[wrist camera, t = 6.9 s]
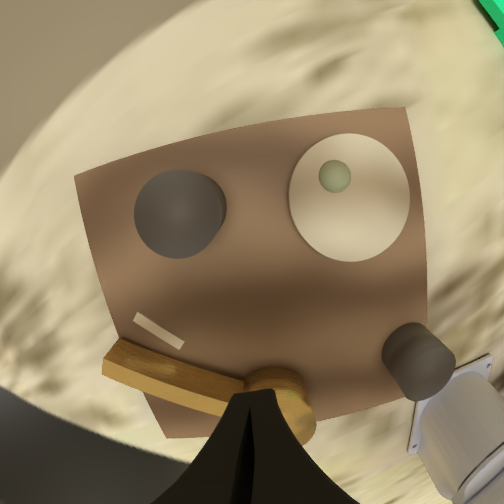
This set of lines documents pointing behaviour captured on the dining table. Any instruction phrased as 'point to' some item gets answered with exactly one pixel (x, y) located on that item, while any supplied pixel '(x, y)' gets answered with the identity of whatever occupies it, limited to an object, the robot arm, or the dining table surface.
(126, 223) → the levelling base
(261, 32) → the dining table surface
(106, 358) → the brass lever handle
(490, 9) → the green triangular bracket
